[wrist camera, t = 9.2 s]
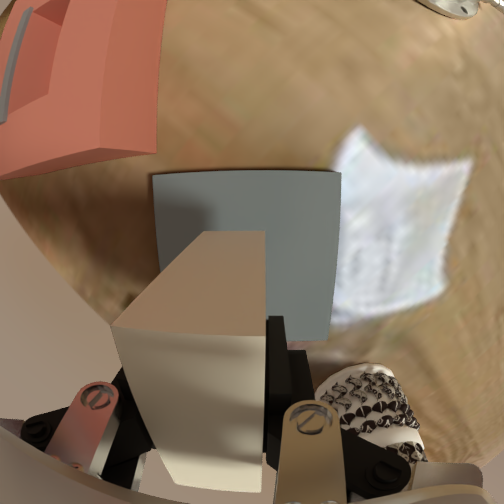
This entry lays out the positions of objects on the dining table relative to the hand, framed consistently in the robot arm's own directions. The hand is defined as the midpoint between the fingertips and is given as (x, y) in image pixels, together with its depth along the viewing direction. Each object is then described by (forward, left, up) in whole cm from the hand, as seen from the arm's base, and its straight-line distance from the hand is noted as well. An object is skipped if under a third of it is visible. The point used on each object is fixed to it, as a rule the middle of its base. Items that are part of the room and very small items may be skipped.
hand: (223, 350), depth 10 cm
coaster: (0, 0, -9) cm, 10 cm away
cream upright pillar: (0, 0, -5) cm, 5 cm away
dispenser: (+12, -16, -9) cm, 22 cm away
